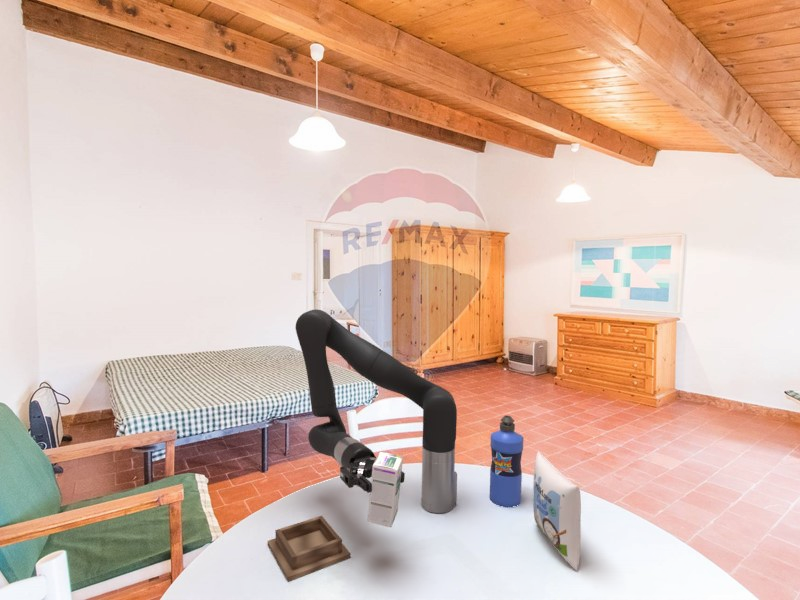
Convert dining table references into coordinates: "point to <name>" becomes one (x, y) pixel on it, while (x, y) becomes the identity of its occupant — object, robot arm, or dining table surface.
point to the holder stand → (307, 547)
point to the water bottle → (506, 465)
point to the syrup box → (385, 489)
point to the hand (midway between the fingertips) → (387, 483)
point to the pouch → (557, 509)
